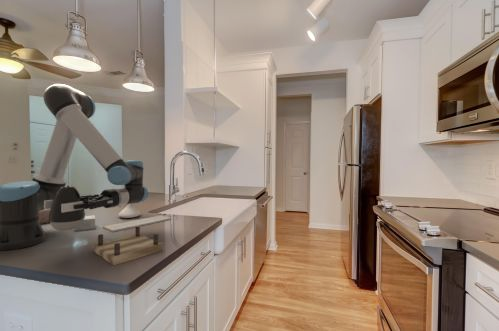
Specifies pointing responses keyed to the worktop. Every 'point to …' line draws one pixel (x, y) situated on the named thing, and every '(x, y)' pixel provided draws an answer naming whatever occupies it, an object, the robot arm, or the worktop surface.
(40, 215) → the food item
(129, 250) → the oak stand
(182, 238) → the worktop surface
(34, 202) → the robot arm
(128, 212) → the flower in vase
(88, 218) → the small box
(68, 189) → the dark grey bell shape
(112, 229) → the baseboard
